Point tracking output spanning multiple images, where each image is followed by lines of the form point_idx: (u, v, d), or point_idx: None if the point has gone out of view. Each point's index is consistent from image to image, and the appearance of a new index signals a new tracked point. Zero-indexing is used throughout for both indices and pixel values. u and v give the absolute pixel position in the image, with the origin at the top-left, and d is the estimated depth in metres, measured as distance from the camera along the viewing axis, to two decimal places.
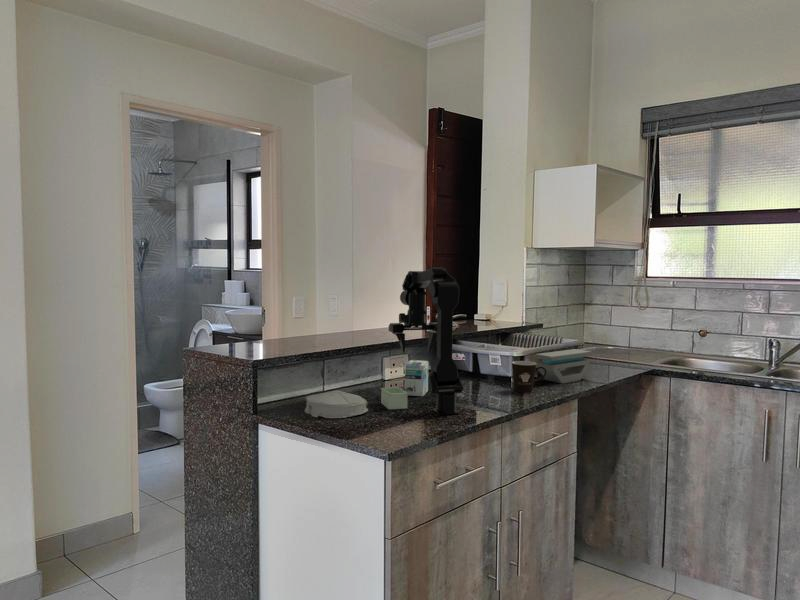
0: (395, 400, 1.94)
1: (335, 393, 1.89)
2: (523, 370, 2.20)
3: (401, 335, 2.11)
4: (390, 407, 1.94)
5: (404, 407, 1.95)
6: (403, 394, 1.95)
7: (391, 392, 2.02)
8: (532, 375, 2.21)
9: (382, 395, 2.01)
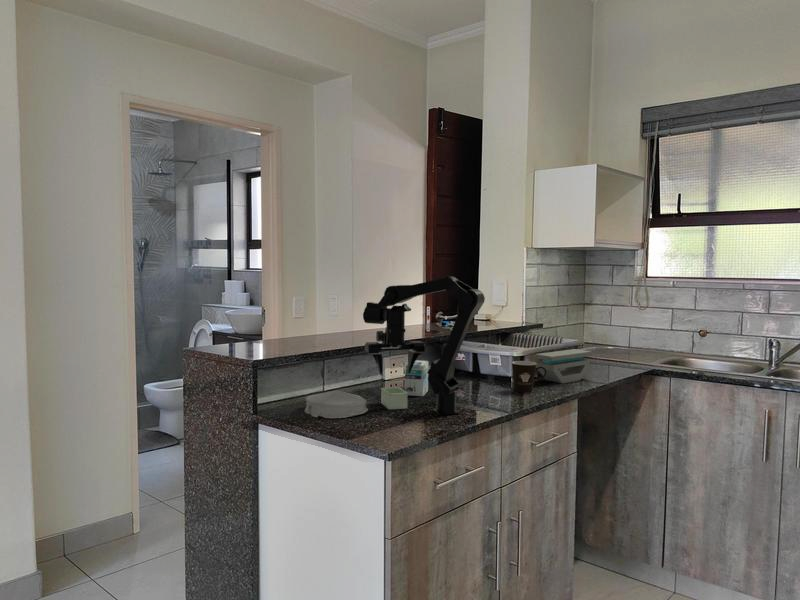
0: (395, 400, 1.94)
1: (335, 393, 1.89)
2: (523, 370, 2.20)
3: (378, 356, 1.93)
4: (390, 407, 1.94)
5: (404, 407, 1.95)
6: (403, 394, 1.95)
7: (391, 392, 2.02)
8: (532, 375, 2.21)
9: (382, 395, 2.01)
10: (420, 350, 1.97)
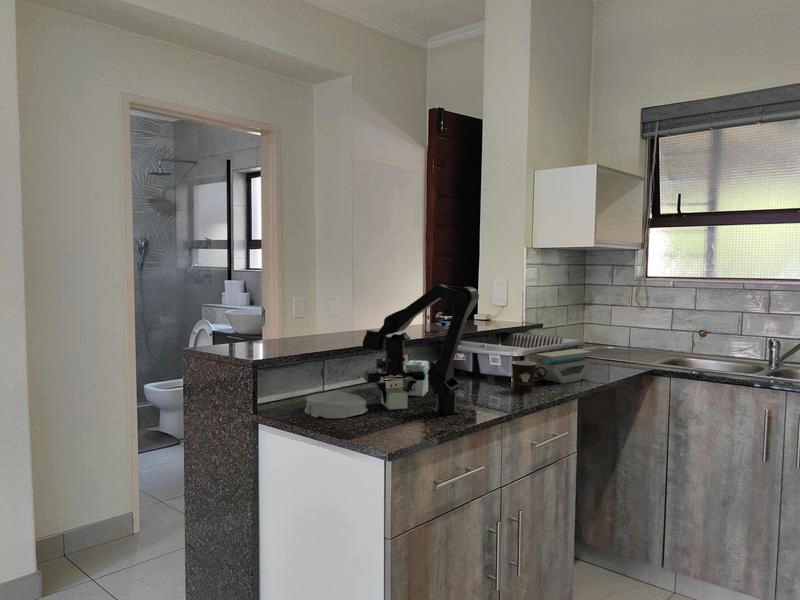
0: (395, 399, 1.94)
1: (335, 393, 1.89)
2: (523, 370, 2.20)
3: (381, 385, 1.94)
4: (390, 406, 1.94)
5: (404, 406, 1.95)
6: (403, 393, 1.95)
7: (391, 391, 2.02)
8: (532, 375, 2.21)
9: None
10: (419, 379, 1.97)
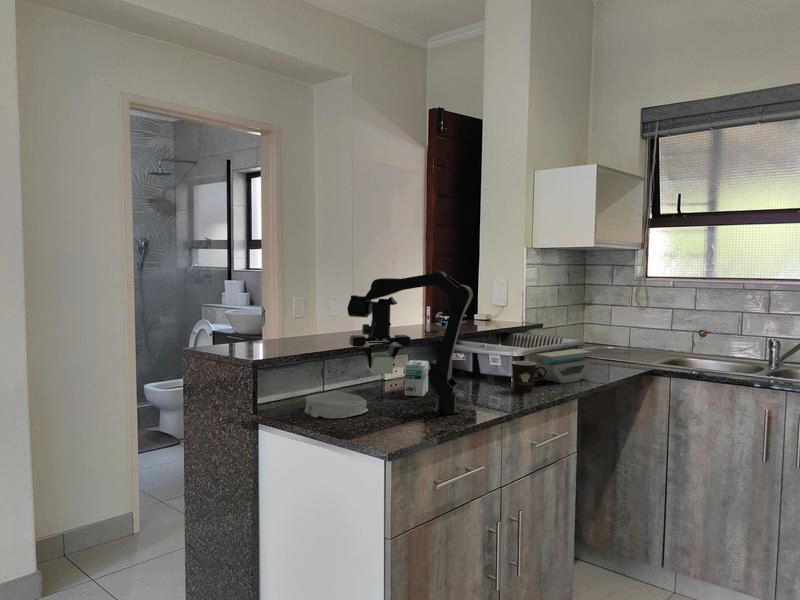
0: (380, 364, 1.92)
1: (335, 393, 1.89)
2: (523, 370, 2.20)
3: (367, 349, 1.92)
4: (375, 371, 1.91)
5: (389, 372, 1.93)
6: (388, 358, 1.92)
7: (377, 357, 2.00)
8: (532, 375, 2.21)
9: None
10: (405, 344, 1.95)
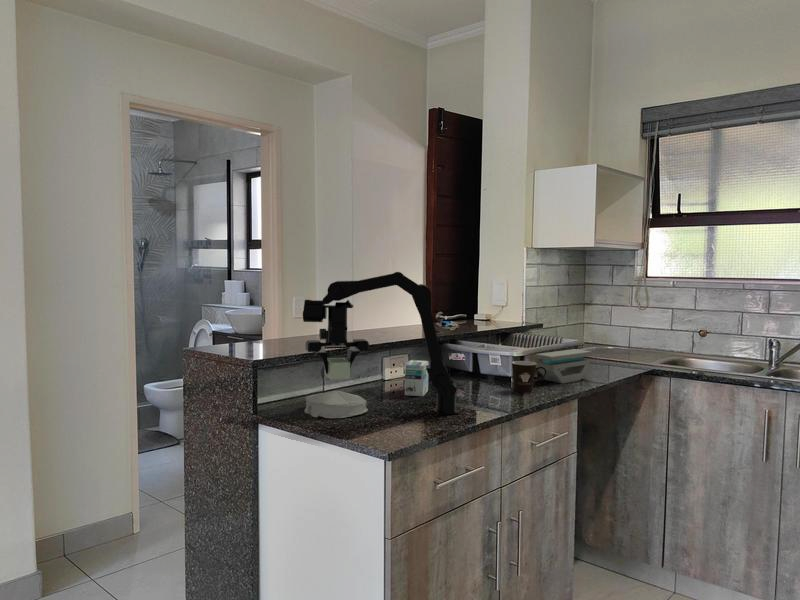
0: (337, 370, 1.86)
1: (335, 393, 1.89)
2: (523, 370, 2.20)
3: (323, 354, 1.86)
4: (331, 377, 1.86)
5: (346, 377, 1.87)
6: (345, 363, 1.86)
7: (335, 362, 1.94)
8: (532, 375, 2.21)
9: None
10: (363, 349, 1.89)
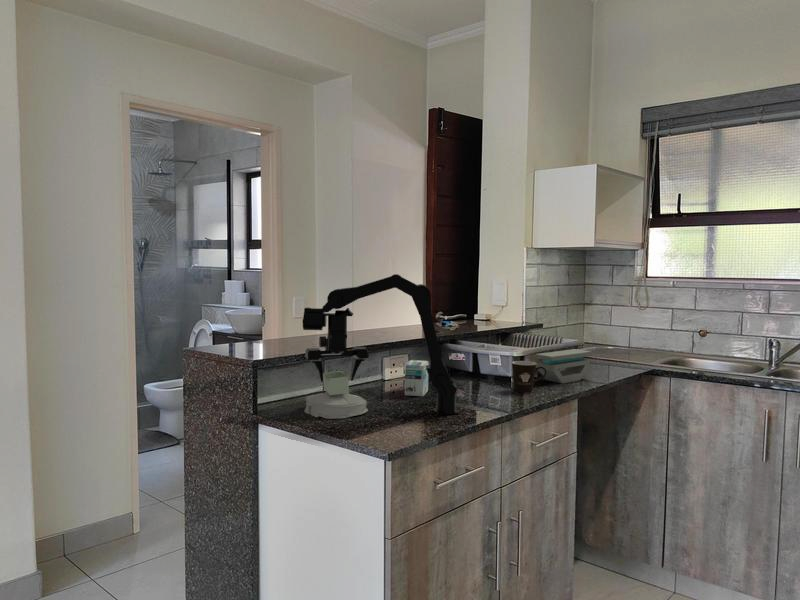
0: (335, 385, 1.86)
1: None
2: (523, 370, 2.20)
3: (318, 363, 1.86)
4: (331, 392, 1.86)
5: (346, 391, 1.87)
6: (343, 378, 1.86)
7: (334, 376, 1.94)
8: (532, 375, 2.21)
9: (324, 380, 1.92)
10: (363, 357, 1.89)
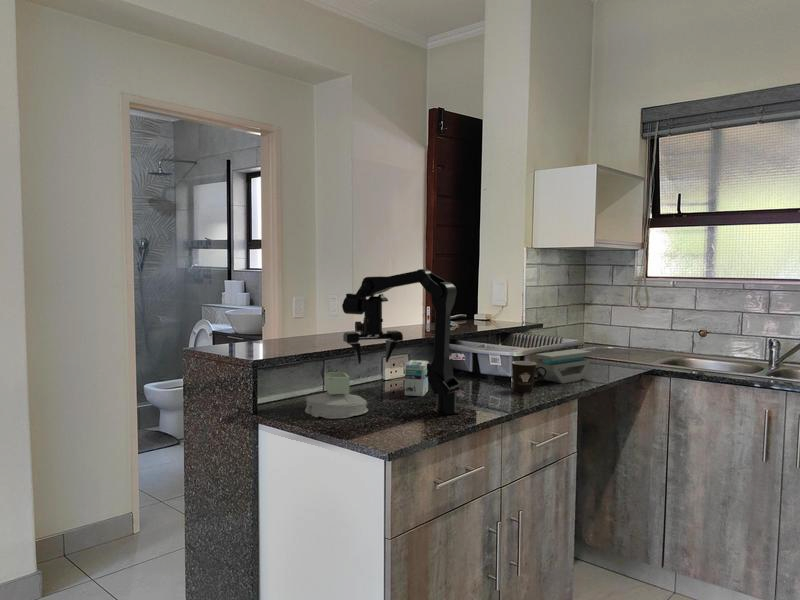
0: (336, 384, 1.86)
1: None
2: (523, 370, 2.20)
3: (356, 345, 1.98)
4: (331, 391, 1.86)
5: (346, 391, 1.87)
6: (345, 378, 1.87)
7: (335, 377, 1.95)
8: (532, 375, 2.21)
9: (325, 380, 1.93)
10: (397, 339, 2.02)
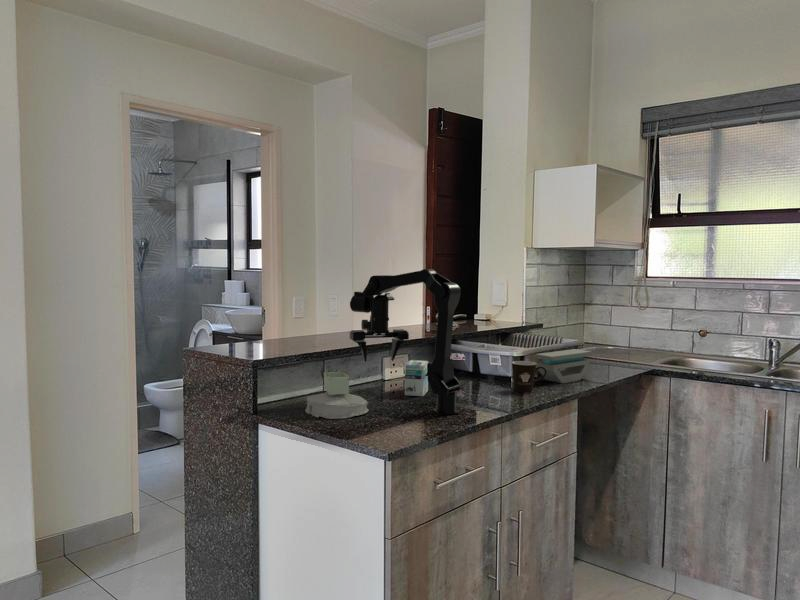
0: (336, 384, 1.86)
1: None
2: (523, 370, 2.20)
3: (362, 343, 2.00)
4: (330, 392, 1.86)
5: (345, 392, 1.87)
6: (344, 378, 1.87)
7: (334, 377, 1.94)
8: (532, 375, 2.21)
9: (324, 380, 1.93)
10: (403, 338, 2.03)
